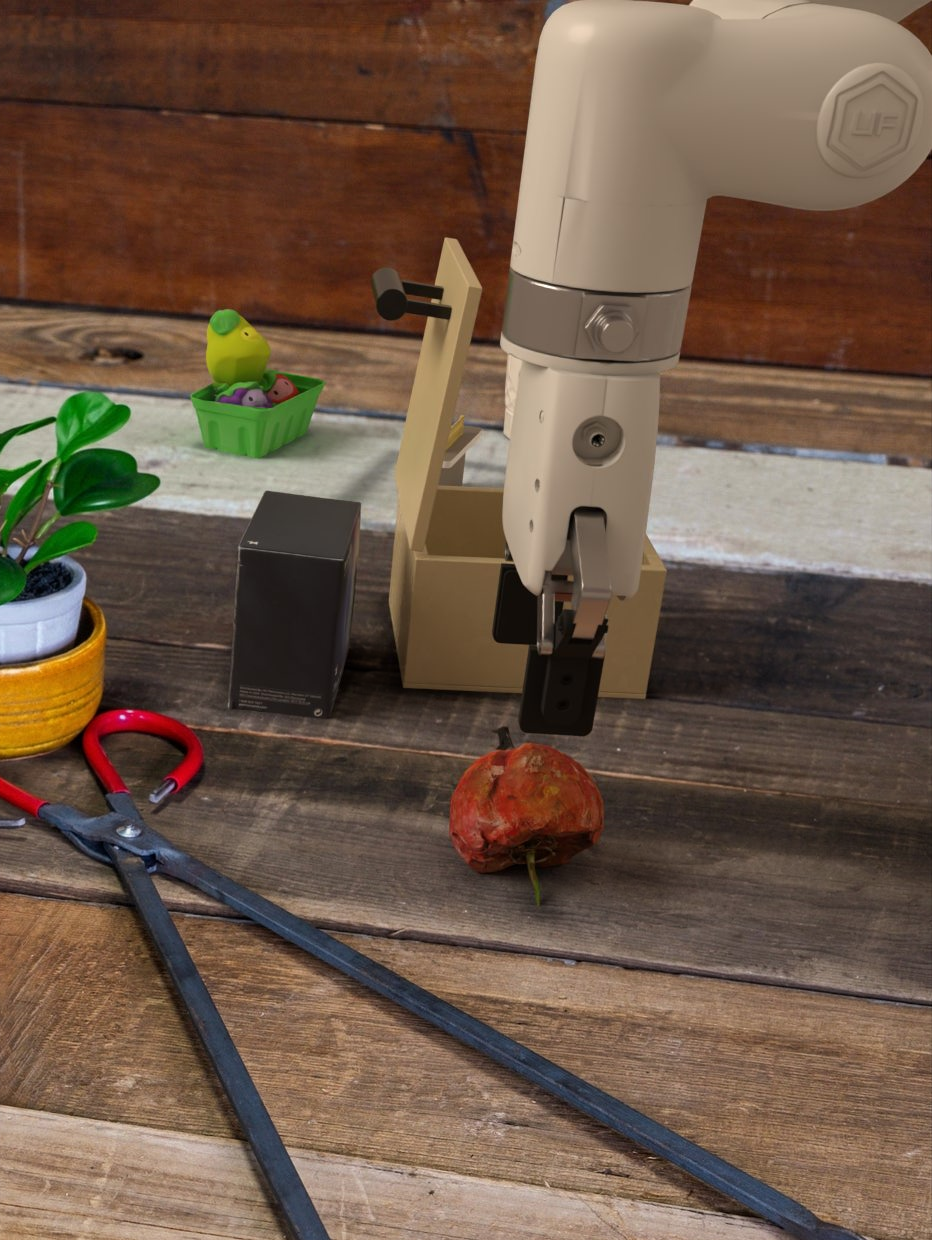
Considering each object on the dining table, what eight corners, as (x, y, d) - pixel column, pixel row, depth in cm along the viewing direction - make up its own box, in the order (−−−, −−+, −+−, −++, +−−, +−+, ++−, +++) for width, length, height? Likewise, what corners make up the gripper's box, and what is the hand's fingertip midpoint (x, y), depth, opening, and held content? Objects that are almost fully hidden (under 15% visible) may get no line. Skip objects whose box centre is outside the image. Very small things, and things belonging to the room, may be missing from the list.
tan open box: (604, 617, 113) (623, 493, 110) (644, 706, 101) (667, 570, 97) (388, 607, 114) (399, 483, 110) (402, 695, 102) (415, 558, 98)
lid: (457, 239, 103) (375, 225, 102) (482, 287, 90) (389, 272, 90) (405, 477, 110) (328, 465, 109) (423, 552, 97) (336, 539, 97)
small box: (335, 728, 97) (348, 558, 92) (224, 716, 98) (231, 547, 93) (353, 654, 106) (366, 497, 102) (251, 644, 107) (260, 487, 103)
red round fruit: (605, 937, 83) (582, 753, 87) (626, 886, 76) (600, 690, 81) (453, 944, 83) (438, 760, 88) (461, 893, 77) (444, 698, 81)
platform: (328, 524, 128) (334, 440, 125) (398, 459, 143) (405, 383, 140) (481, 551, 124) (491, 465, 121) (537, 481, 139) (547, 404, 136)
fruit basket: (263, 470, 139) (271, 334, 134) (172, 451, 143) (175, 318, 138) (325, 437, 148) (334, 308, 143) (237, 419, 152) (242, 293, 146)
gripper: (732, 378, 63) (656, 777, 71) (641, 280, 79) (586, 617, 86) (533, 366, 63) (478, 767, 71) (481, 271, 79) (441, 608, 86)
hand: (538, 684), depth 79 cm, fingers open, 9 cm apart
